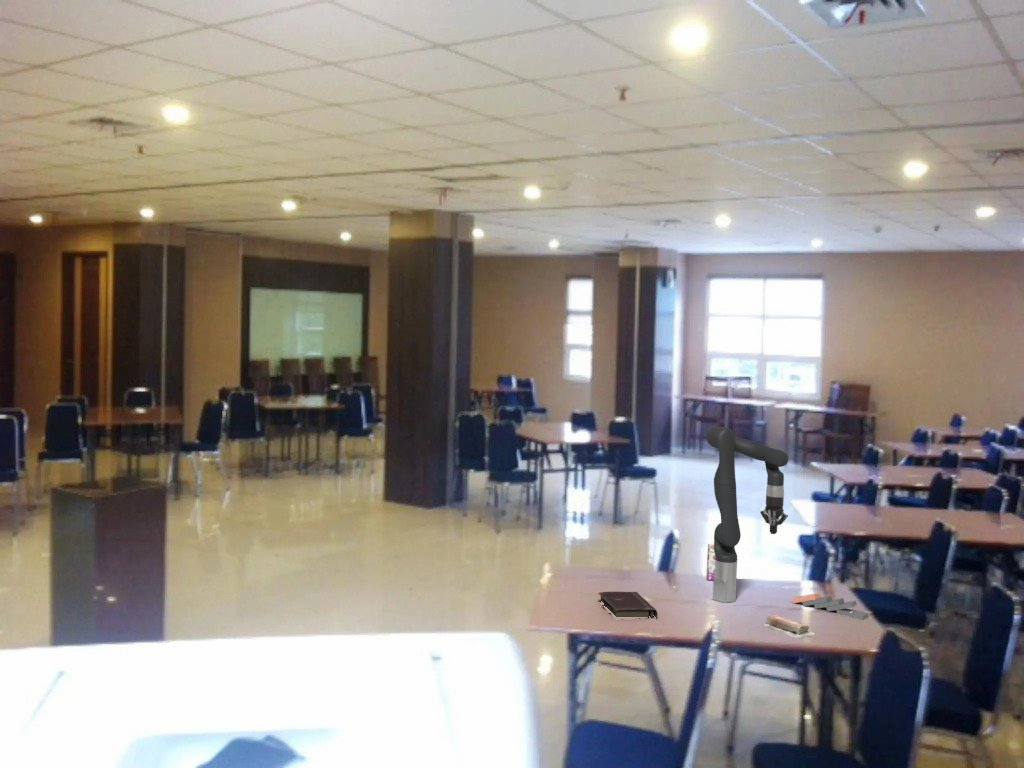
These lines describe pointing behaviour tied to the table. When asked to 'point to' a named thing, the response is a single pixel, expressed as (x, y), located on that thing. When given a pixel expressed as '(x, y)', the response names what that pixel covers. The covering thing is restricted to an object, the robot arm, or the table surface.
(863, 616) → the domino
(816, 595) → the domino
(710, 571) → the candy bar box
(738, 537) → the robot arm
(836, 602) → the domino
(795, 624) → the packaged product
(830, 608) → the domino
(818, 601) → the domino
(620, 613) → the diary
